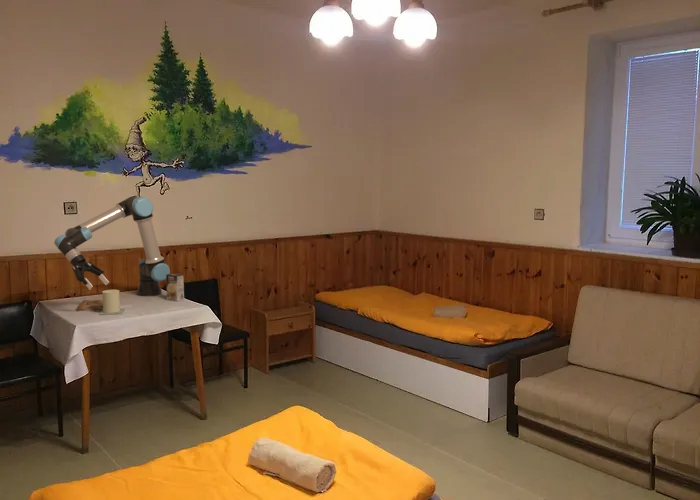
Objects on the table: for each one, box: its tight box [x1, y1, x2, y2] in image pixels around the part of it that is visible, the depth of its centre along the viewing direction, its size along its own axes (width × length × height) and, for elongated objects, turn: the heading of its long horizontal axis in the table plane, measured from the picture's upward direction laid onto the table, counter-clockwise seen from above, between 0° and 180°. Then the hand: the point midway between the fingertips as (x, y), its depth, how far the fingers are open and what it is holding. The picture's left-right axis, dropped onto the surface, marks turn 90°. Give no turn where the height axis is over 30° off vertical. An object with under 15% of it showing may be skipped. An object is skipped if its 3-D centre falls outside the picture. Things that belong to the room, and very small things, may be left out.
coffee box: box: [165, 272, 185, 302], centre depth 382 cm, size 9×6×16 cm
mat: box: [98, 307, 126, 316], centre depth 348 cm, size 12×12×1 cm
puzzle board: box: [77, 299, 103, 312], centre depth 361 cm, size 17×17×2 cm
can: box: [101, 289, 121, 313], centre depth 347 cm, size 9×9×12 cm
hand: (99, 285), depth 348 cm, fingers open, 13 cm apart
